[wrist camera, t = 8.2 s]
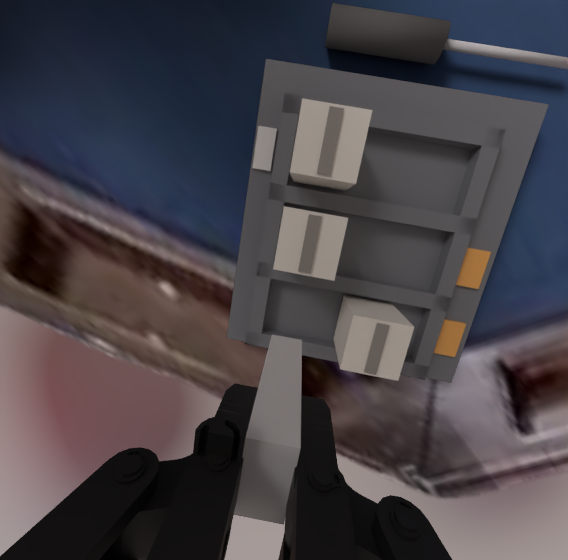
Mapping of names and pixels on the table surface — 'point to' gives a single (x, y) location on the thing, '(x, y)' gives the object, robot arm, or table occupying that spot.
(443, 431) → the table surface
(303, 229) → the white grooved block
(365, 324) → the small white box
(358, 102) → the switch bank
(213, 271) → the table surface
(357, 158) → the small white box
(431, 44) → the screwdriver
